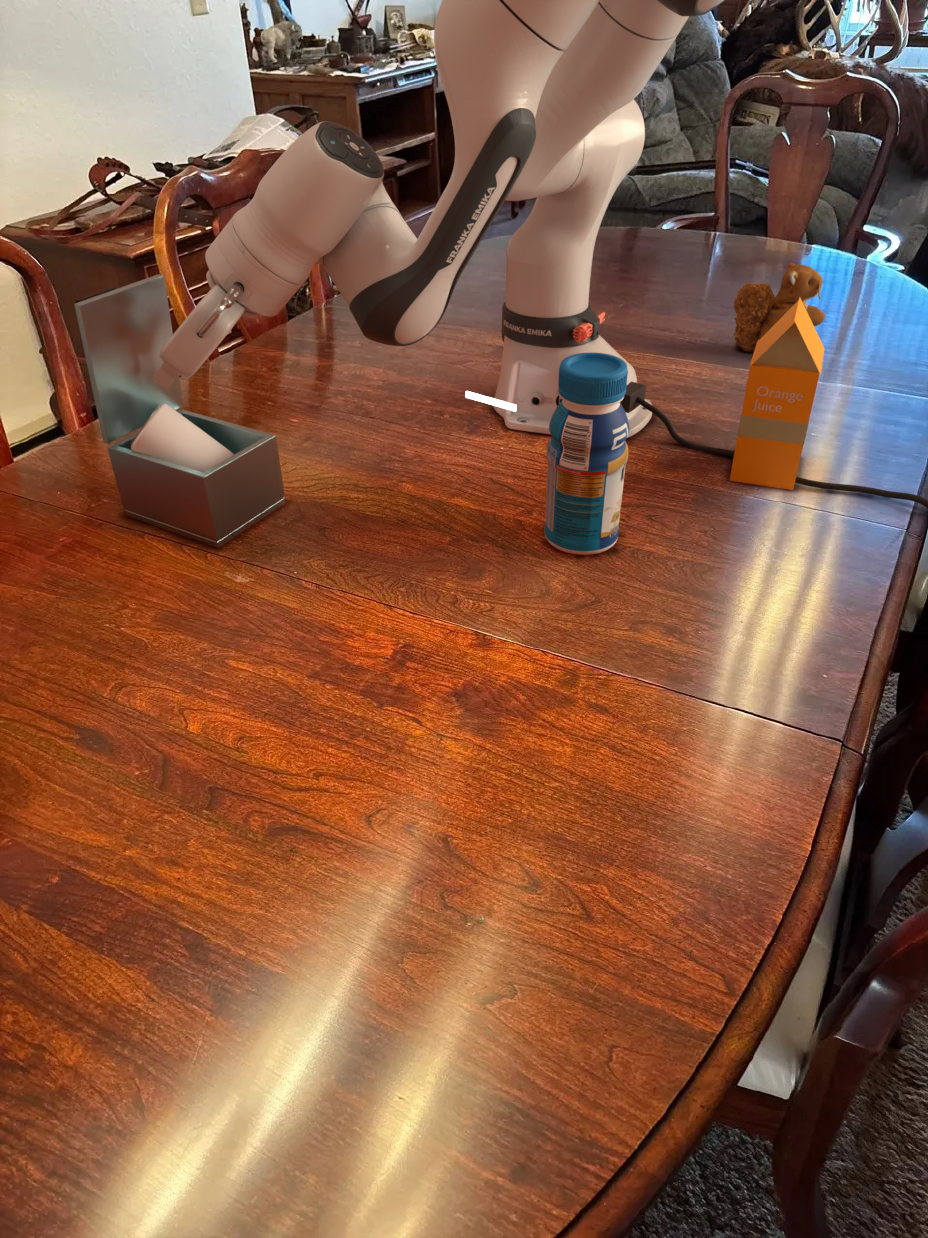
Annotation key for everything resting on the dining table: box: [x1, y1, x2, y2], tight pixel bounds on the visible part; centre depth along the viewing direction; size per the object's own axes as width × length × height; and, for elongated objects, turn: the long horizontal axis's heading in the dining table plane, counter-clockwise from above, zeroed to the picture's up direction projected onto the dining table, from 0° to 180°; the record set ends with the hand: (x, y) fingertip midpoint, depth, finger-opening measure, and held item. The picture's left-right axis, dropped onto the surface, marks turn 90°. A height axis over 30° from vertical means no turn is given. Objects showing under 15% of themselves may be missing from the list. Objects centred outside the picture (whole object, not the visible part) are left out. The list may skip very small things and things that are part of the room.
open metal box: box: [106, 409, 287, 549], centre depth 106 cm, size 15×12×9 cm
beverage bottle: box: [544, 353, 629, 556], centre depth 96 cm, size 8×8×20 cm
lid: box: [73, 273, 184, 444], centre depth 102 cm, size 16×12×5 cm
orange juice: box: [729, 298, 826, 491], centre depth 109 cm, size 8×9×20 cm
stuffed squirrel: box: [733, 262, 826, 353], centre depth 143 cm, size 10×14×13 cm
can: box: [130, 404, 235, 473], centre depth 104 cm, size 6×6×12 cm
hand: (175, 364), depth 98 cm, fingers open, 8 cm apart
